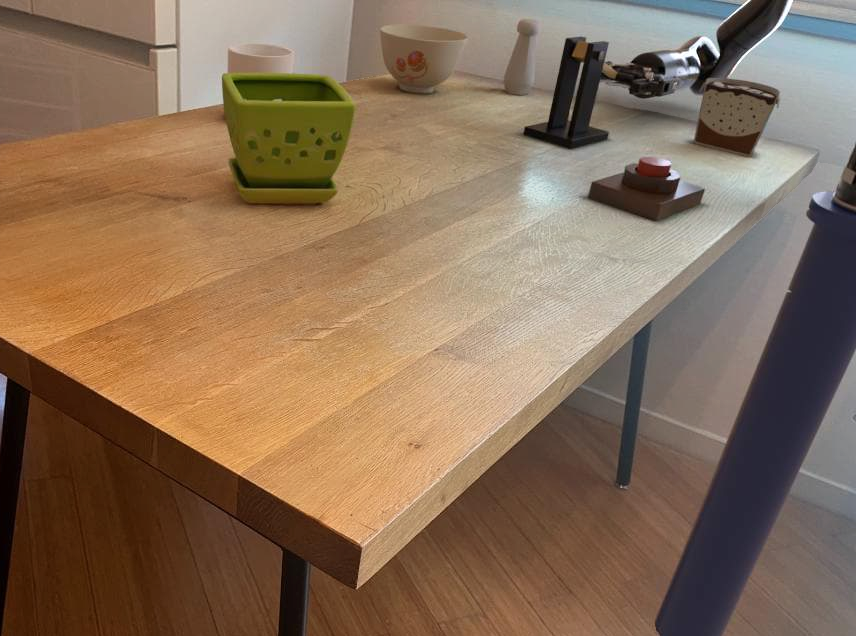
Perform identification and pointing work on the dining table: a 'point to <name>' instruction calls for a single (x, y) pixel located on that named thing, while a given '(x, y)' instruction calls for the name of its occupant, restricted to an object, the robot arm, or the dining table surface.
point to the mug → (260, 59)
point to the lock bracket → (578, 128)
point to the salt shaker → (522, 59)
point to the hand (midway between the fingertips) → (609, 82)
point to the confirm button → (654, 166)
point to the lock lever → (607, 70)
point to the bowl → (421, 55)
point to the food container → (734, 114)
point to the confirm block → (646, 193)
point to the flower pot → (286, 135)
